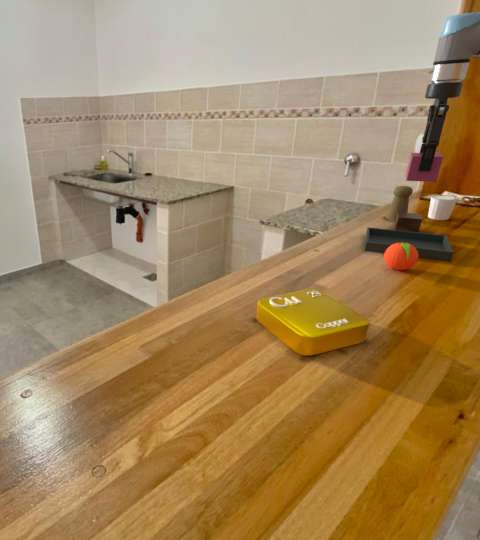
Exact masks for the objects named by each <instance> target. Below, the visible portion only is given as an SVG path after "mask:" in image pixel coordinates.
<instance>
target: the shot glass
mask: <svg viewBox="0 0 480 540" xmlns="http://www.w3.org/2000/svg"><path fill="white" fill-rule="evenodd" d="M457 201H458V198H457V197H455V196H450V195H432V196H430V202H429V208H428V214H427V217H428V218H429V219H431V220H436V221H448V220H449V219H450V217H451V214H452V213H453V210H454V209H455V206H456V204H457Z"/></svg>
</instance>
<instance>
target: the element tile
mask: <svg viewBox="0 0 480 540" xmlns="http://www.w3.org/2000/svg"><path fill="white" fill-rule="evenodd" d="M255 318H256V321H257V322H258V323H260V325H262V326H263V327H264V328H265V329H266V330H268V331H269V332H270V333H271V334H272V335H274V336H275V337H276V338H277V339H278V340H280V341H281V342H282V343H283V344H285V345H286V346H287V347H288V348H290V349H291V350H292V351H293V352H294V353H296V354H298V355H300V356H304V357H310V356H311V357H312V356H317V355H320V354H324V353H327V352H332V351H335V350H338V349H344V348H346V347H350V346H351V347H352V346H354V345H359V344H362V343H364V342H365V341H366V338H367V335H368V331H369V327H370V320H369V318H368V317H367V316H365V315H363V314H361V313H360V312H358V311H356V310H355V309H353V308H352V307H349V306H348V305H346V304H345V303H342V302H341V301H339V300H337V299H335V298H334V297H332V296H330V294H329V295H328V294H327V293H325V292H324V291H321V290H319V289H317V288H305V289H300V290H295V291H290V292H287V293H280V294H276V295H272V296H267V297H263V298H260V299H258V301H257V306H256V316H255Z"/></svg>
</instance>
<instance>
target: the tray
mask: <svg viewBox="0 0 480 540" xmlns="http://www.w3.org/2000/svg"><path fill="white" fill-rule="evenodd" d="M364 238H365V239H364V249H363V250H364V251H366V252H371V253H372V252H373V253H379V254H381V253H382V254H385V252H386V250H387V249H388V247H390V246H391V245H393V244H395V243H399V242H403V243H404V242H405V243H408V244H411V245H412V246H414V247H415V248H416V250H417V251H418V255H419V256H418V259H419V258H421V259H428V260H434V261H435V260H436V261H444V262H451V261H452V259H453V256H454V250H453V248H452V244H451V243H450V240H449V238H448V236H447V235H446V234H437V233H428V232H420V231H419V232H409V231H399V230H394V229H390V228H389V229H387V228H378V227H367V228H366V232H365V237H364Z"/></svg>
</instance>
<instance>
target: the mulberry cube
mask: <svg viewBox="0 0 480 540" xmlns="http://www.w3.org/2000/svg"><path fill="white" fill-rule="evenodd" d="M422 154H423V153H420V152H411V153H410V155H409V160H408V163H407V167H406V171H405V181H406V182H426V183H428V182H429V183H430V182H431V183H437V181H438V177H439V174H440V171H441V167H442V164H443V159H444V155H442V153H441V152H435V155H434V159H433V163H432V166H431V170H430V171H418V169H419V165H420V161H421V158H422Z"/></svg>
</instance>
